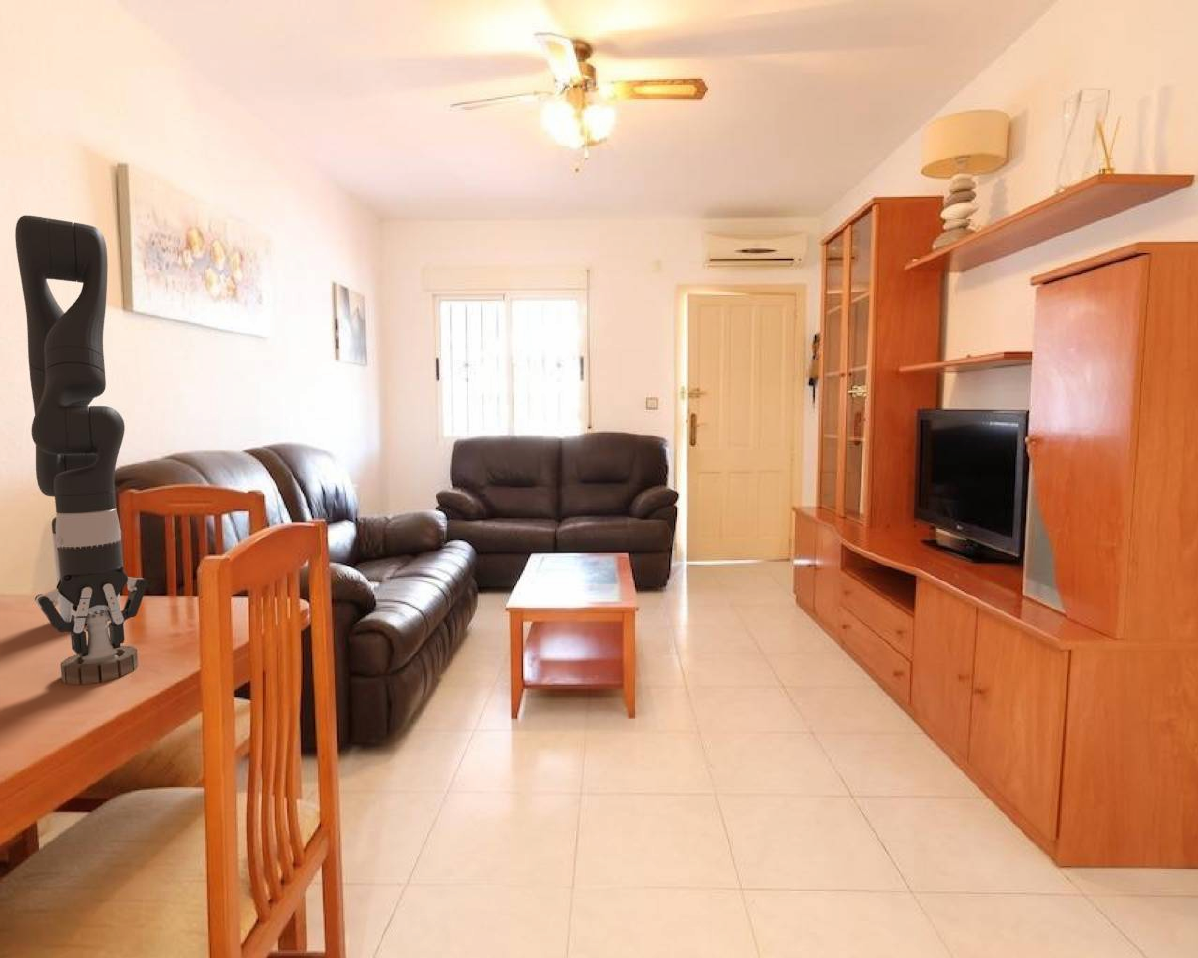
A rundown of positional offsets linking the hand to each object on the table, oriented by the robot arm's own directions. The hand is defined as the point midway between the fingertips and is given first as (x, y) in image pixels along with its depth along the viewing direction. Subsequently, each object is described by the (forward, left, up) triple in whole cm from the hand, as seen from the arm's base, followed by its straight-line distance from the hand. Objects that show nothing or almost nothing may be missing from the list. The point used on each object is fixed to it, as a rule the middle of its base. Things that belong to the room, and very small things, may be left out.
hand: (99, 650), depth 98 cm
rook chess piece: (0, 0, -2) cm, 2 cm away
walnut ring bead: (0, 0, -3) cm, 3 cm away
